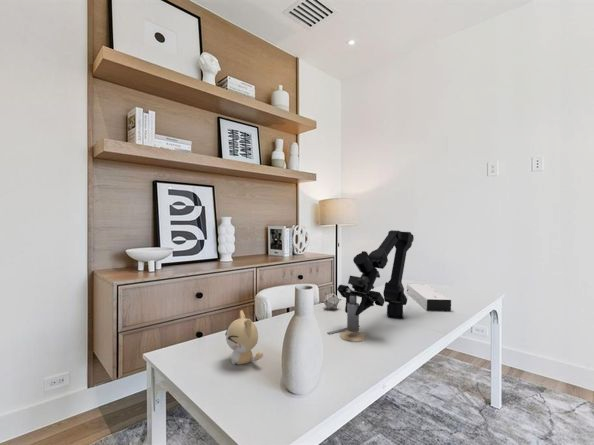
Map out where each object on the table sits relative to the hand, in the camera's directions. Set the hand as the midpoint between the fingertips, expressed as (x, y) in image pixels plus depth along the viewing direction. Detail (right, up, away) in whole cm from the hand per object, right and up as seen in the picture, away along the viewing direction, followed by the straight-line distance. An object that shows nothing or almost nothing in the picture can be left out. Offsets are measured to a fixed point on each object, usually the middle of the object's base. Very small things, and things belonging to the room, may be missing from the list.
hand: (351, 313), depth 119 cm
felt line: (-1, -9, +8) cm, 12 cm away
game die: (-4, -8, +36) cm, 37 cm away
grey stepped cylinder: (+1, -7, +1) cm, 7 cm away
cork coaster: (+1, -9, +1) cm, 9 cm away
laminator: (+48, -8, +49) cm, 69 cm away
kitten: (-38, -10, -19) cm, 43 cm away
